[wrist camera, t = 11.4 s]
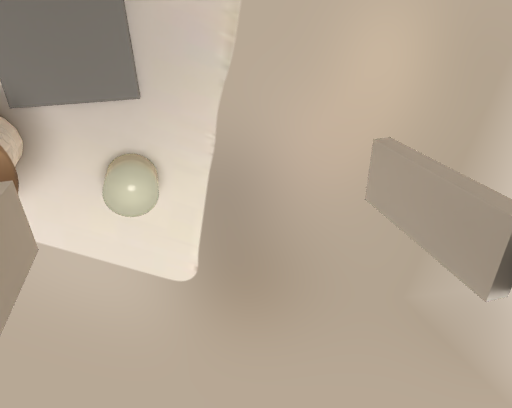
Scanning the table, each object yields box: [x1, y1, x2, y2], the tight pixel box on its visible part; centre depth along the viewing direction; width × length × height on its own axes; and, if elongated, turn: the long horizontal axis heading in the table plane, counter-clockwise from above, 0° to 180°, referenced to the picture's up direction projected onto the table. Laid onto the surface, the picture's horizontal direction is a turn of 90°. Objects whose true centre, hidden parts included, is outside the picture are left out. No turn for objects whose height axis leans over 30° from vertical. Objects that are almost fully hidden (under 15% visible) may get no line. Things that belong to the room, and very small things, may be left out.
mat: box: [0, 0, 140, 108], centre depth 36 cm, size 13×13×1 cm
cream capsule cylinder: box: [102, 154, 159, 217], centre depth 43 cm, size 6×6×5 cm
